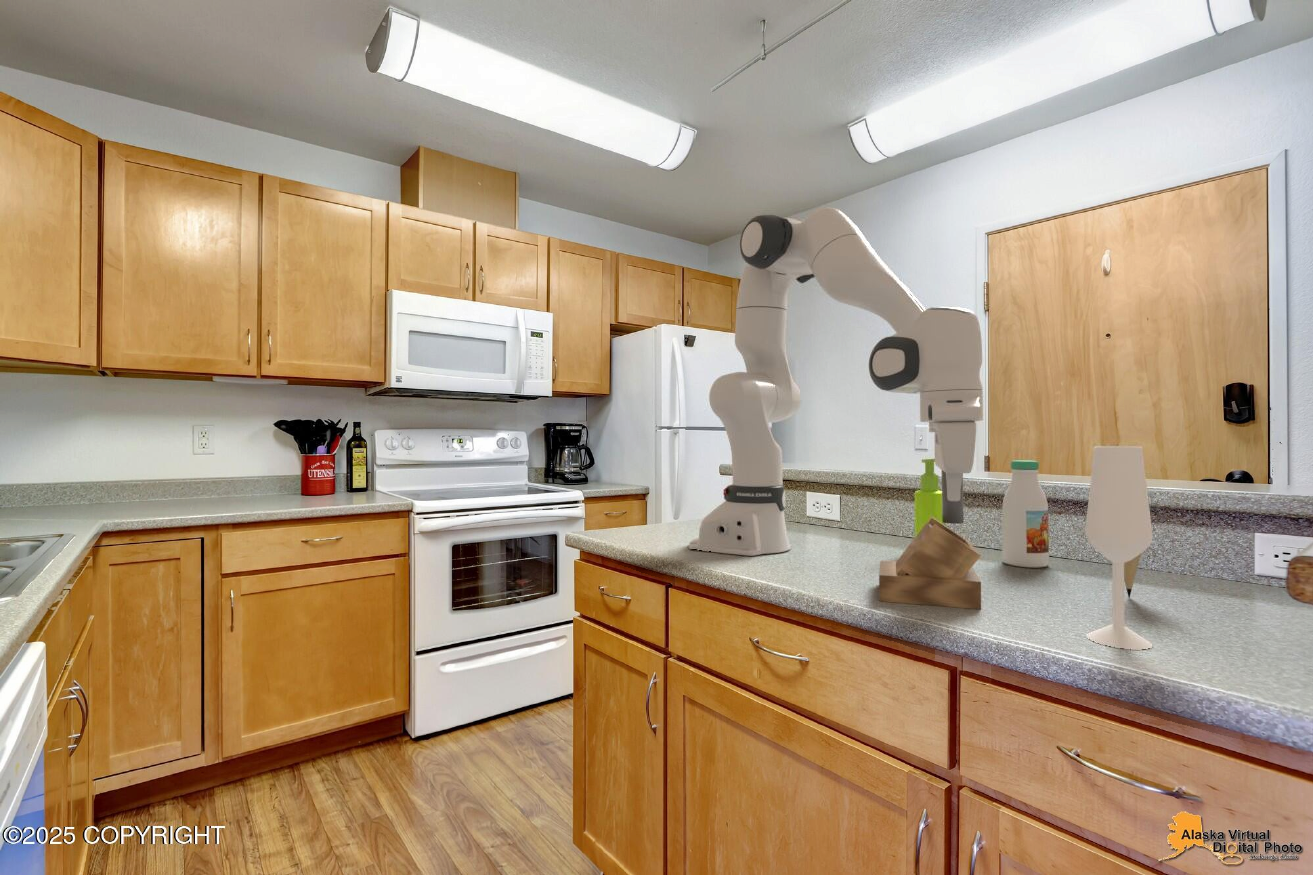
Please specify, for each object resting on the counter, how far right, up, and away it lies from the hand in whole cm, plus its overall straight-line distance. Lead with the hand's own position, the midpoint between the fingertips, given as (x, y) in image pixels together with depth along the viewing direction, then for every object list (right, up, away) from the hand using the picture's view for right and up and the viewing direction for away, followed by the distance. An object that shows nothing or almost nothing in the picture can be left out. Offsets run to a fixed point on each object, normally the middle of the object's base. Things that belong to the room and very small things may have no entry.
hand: (952, 499), depth 97 cm
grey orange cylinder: (0, -4, 0) cm, 4 cm away
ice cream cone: (+27, -15, -1) cm, 31 cm away
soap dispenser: (+12, -15, +33) cm, 38 cm away
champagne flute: (+11, -16, -20) cm, 28 cm away
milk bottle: (+25, -15, +23) cm, 37 cm away
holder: (-3, -15, +1) cm, 16 cm away
